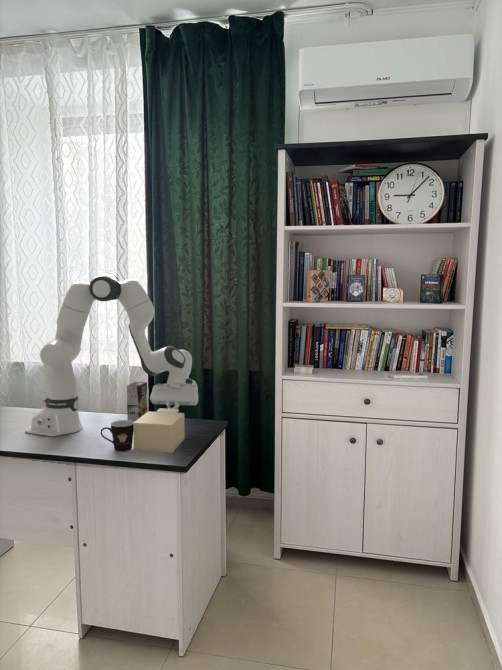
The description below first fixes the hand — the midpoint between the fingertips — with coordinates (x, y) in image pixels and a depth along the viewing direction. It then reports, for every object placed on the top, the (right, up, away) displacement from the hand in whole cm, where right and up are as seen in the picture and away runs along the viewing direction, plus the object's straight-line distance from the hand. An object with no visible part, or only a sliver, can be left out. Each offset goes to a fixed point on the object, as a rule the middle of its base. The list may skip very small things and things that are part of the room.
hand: (170, 412), depth 209 cm
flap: (-2, 0, -11) cm, 11 cm away
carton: (-2, -10, -12) cm, 16 cm away
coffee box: (-19, -6, +24) cm, 31 cm away
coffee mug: (-17, -11, -17) cm, 26 cm away
